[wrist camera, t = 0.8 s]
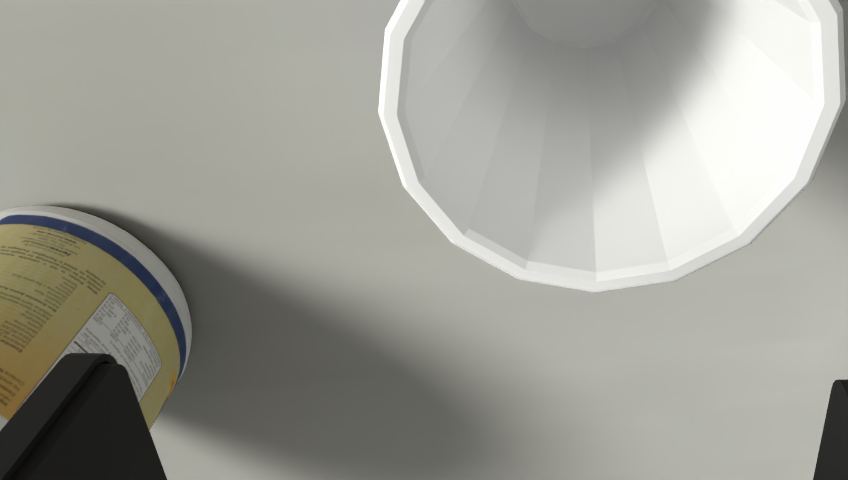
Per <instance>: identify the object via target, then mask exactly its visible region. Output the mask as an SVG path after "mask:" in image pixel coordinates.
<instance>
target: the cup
mask: <svg viewBox="0 0 848 480" xmlns="http://www.w3.org/2000/svg"><path fill="white" fill-rule="evenodd" d="M845 101H846V89H845V58H844V28H843V8H842V7H841V5H840V3H839V1H838V0H400V2H399V4H398V6H397V8H396V10H395V12H394V14H393V15H392V17H391V19H390V21H389V23H388V25H387V27H386V29H385V36H384V48H383V60H382V73H381V85H380V97H379V109H378V113H379V116H380V119H381V122H382V125H383V128H384V131H385V134H386V137H387V140H388V143H389V146H390V149H391V152H392V155H393V158H394V161H395V164H396V167H397V170H398V173H399V176H400V179H401V182H402V185H403V187H404V188H405V189H406V190H407V191H408V192H409V194H410V195H411V196H412V197H413V198H414V199H415V201H416V202H417V203H418V204H419V205H420V206H421V208H422V209H423V210H424V211H425V212H426V213H427V215H428V216H429V217H430V218H431V219H432V220H433V221H434V223H435V224H436V225H437V226H438V227H439V228H440V230H441V231H442V232H443V233H444V234H445V235H446V237H447V238H448V239H449V240H450V241H451V242H452V243H453V244H455V245H456V246H458V247H460V248H462V249H464V250H466V251H467V252H469V253H471V254H473V255H475V256H476V257H478V258H480V259H482V260H484V261H486V262H487V263H489V264H491V265H493V266H495V267H497V268H498V269H500V270H502V271H504V272H506V273H507V274H509V275H511V276H513V277H515V278H517V279H518V280H523V281H529V282H535V283H541V284H547V285H553V286H558V287H564V288H570V289H576V290H582V291H587V292H593V293H599V292H605V291H612V290H619V289H626V288H633V287H639V286H646V285H653V284H660V283H667V282H674V281H677V280H679V279H681V278H683V277H685V276H687V275H689V274H691V273H693V272H695V271H697V270H699V269H701V268H703V267H705V266H707V265H709V264H711V263H713V262H715V261H717V260H719V259H721V258H723V257H725V256H727V255H729V254H731V253H733V252H735V251H737V250H740V249H742V248H744V247H746V246H748V245H750V244H751V243H752V242H753V241H754V240H755V239H756V238H757V237H758V236H759V235H760V234H761V233H762V232H763V231H764V230H765V229H766V228H767V227H768V226H769V225H770V224H771V223H772V222H773V221H774V220H775V219H776V218H777V217H778V216H779V215H780V214H781V213H782V212H783V211H784V210H785V208H786V207H787V206H788V205H789V204H790V203H791V202H792V201H793V200H794V199H795V198H796V197H797V196H798V195H799V194H800V193H801V192H802V191H803V190H804V189H805V188H806V187H807V186H808V185H809V184H810V183H811V182H812V180H813V177H814V175H815V172H816V170H817V168H818V165H819V163H820V160H821V158H822V156H823V153H824V151H825V149H826V146H827V144H828V141H829V139H830V137H831V134H832V132H833V129H834V127H835V125H836V122H837V120H838V118H839V115H840V113H841V110H842V108H843V106H844V103H845Z"/></svg>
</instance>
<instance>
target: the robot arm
mask: <svg viewBox="0 0 848 480" xmlns="http://www.w3.org/2000/svg"><path fill="white" fill-rule="evenodd" d="M0 480H167V478H166V476H165V473H164V470H163V467H162V465H161V462H160V459H159V456H158V454H157V451H156V448H155V445H154V443H153V440H152V437H151V434H150V432H149V429H148V426H147V424H146V421H145V418H144V415H143V413H142V410H141V407H140V404H139V402H138V399H137V396H136V393H135V391H134V388H133V385H132V382H131V380H130V377H129V374H128V372H127V370H126V368H125V367H124V366H123V365H121V364H118V363H117V362H116V360H115V358H114V357H113V356H111V355H110V354H105V353H69V354H66V355H65V356H64V357H63V358H61V359H60V360H59V362H58V363H57V364H56V365H55V366H54V368H53V369H52V370H51V371H50V372H49V373H48V375H47V376H46V377H45V378H44V379H43V381H42V382H41V383H40V384H39V385H38V387H37V388H36V389H35V390H34V391H33V393H32V394H31V395H30V396H29V397H28V398H27V400H26V401H25V402H24V403H23V404H22V406H21V407H20V408H19V409H18V410H17V412H16V413H15V414H14V415H13V416H12V418H11V419H10V420H9V421H8V422H7V424H6V425H5V426H4V427H3V428H2V429H1V431H0ZM813 480H848V380H835V382H834V383H833V386H832V389H831V394H830V399H829V404H828V409H827V414H826V419H825V424H824V429H823V434H822V439H821V444H820V448H819V453H818V458H817V463H816V468H815V473H814V478H813Z"/></svg>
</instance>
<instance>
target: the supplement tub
mask: <svg viewBox="0 0 848 480" xmlns="http://www.w3.org/2000/svg"><path fill="white" fill-rule="evenodd" d="M191 340H192V324H191V318H190V312H189V309H188V305H187V302H186V299H185V297H184V294H183V291H182V289H181V287H180V285H179V283H178V282H177V280H176V279H175V277H174V276H173V274H172V273H171V272H170V270H169V269H168V268H167V267H166V266H165V264H164V263H163V262H162V261H161V260H160V259H159V258H158V257H157V256H156V255H155V254H154V253H153V252H152V251H151V250H150V249H149V248H147V247H146V246H145V245H144V244H143V243H141V242H140V241H139V240H137V239H136V238H135V237H133V236H132V235H130V234H129V233H127V232H126V231H124V230H122V229H121V228H119V227H117V226H115V225H113V224H111V223H109V222H107V221H105V220H103V219H101V218H98V217H96V216H93V215H90V214H87V213H84V212H81V211H77V210H73V209H69V208H63V207H56V206H24V207H17V208H11V209H7V210H4V211H1V212H0V431H1V429H2V428H3V427H4V426H5V425H6V424H7V422H8V421H9V420H10V419H11V418H12V416H13V415H14V414H15V413H16V412H17V410H18V409H19V408H20V407H21V406H22V404H23V403H24V402H25V401H26V400H27V398H28V397H29V396H30V395H31V394H32V393H33V391H34V390H35V389H36V388H37V387H38V385H39V384H40V383H41V382H42V381H43V379H44V378H45V377H46V376H47V375H48V373H49V372H50V371H51V370H52V369H53V368H54V366H55V365H56V364H57V363H58V362H59V360H60V359H61V358H63V357H64V356H65V355H66V354H69V353H105V354H110V355H111V356H113V357H114V358H115V360H116V362H117V363H118V364H121V365H123V366H124V367H125V368H126V370H127V372H128V374H129V377H130V380H131V382H132V385H133V388H134V391H135V393H136V396H137V399H138V402H139V404H140V407H141V410H142V413H143V415H144V418H145V421H146V424H147V426H148V429H149V430H150V428H151V427H152V425H153V423H154V422H155V420H156V418H157V417H158V415H159V413H160V411H161V409H162V408H163V406H164V404H165V402H166V401H167V399H168V397H169V396H170V394H171V392H172V391H173V389H174V387H175V386H176V384H177V383H178V382H179V380H180V378H181V377H182V375H183V373H184V370H185V368H186V365H187V361H188V357H189V353H190V348H191Z"/></svg>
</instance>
